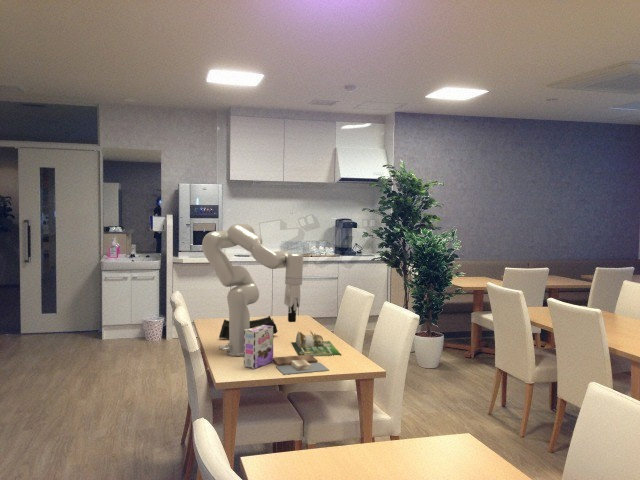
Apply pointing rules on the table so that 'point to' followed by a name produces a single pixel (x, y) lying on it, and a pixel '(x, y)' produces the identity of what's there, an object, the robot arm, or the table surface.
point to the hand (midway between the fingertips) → (291, 321)
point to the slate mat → (291, 370)
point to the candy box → (258, 346)
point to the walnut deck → (287, 360)
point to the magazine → (253, 323)
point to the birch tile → (301, 365)
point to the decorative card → (313, 346)
